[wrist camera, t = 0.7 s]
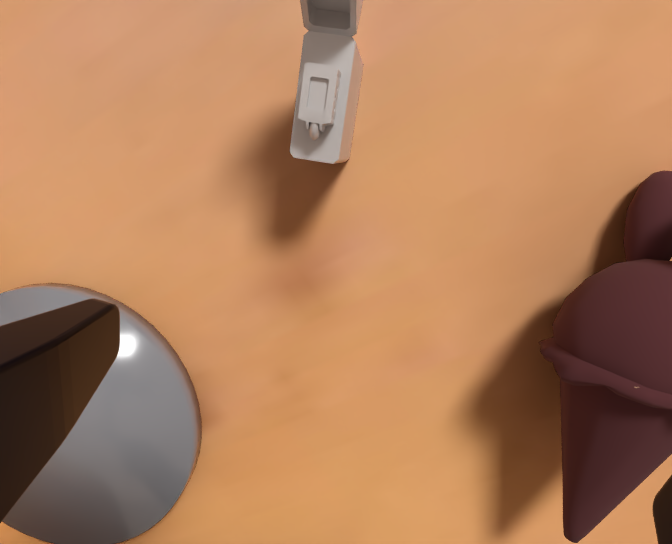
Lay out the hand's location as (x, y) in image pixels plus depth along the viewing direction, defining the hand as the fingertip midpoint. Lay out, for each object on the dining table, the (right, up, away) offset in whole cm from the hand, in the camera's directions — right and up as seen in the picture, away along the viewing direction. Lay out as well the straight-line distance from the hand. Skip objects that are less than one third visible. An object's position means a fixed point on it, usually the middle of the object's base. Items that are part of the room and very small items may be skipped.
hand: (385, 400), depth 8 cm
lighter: (-1, +10, +13) cm, 17 cm away
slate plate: (-14, -5, +18) cm, 24 cm away
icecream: (+11, -1, +14) cm, 18 cm away
